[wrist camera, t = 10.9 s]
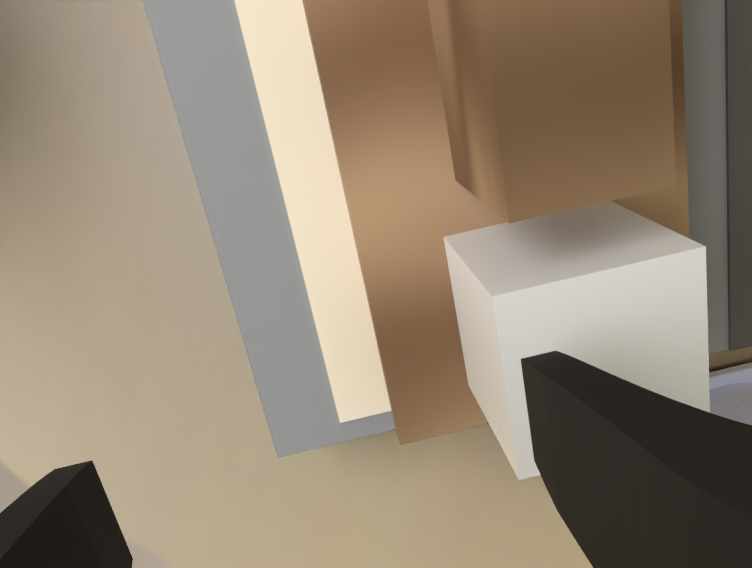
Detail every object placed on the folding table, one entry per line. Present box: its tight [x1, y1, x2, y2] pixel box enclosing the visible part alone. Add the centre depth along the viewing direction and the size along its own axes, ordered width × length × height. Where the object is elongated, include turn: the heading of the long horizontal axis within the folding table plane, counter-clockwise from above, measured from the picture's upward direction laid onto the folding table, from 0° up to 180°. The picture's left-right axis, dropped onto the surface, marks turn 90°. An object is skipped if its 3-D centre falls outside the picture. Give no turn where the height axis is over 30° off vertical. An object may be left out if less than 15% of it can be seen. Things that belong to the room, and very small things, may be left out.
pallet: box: [302, 0, 690, 445], centre depth 14 cm, size 17×8×6 cm, turn 11°
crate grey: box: [443, 201, 710, 480], centre depth 15 cm, size 4×4×4 cm
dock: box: [143, 0, 752, 458], centre depth 18 cm, size 19×15×3 cm
